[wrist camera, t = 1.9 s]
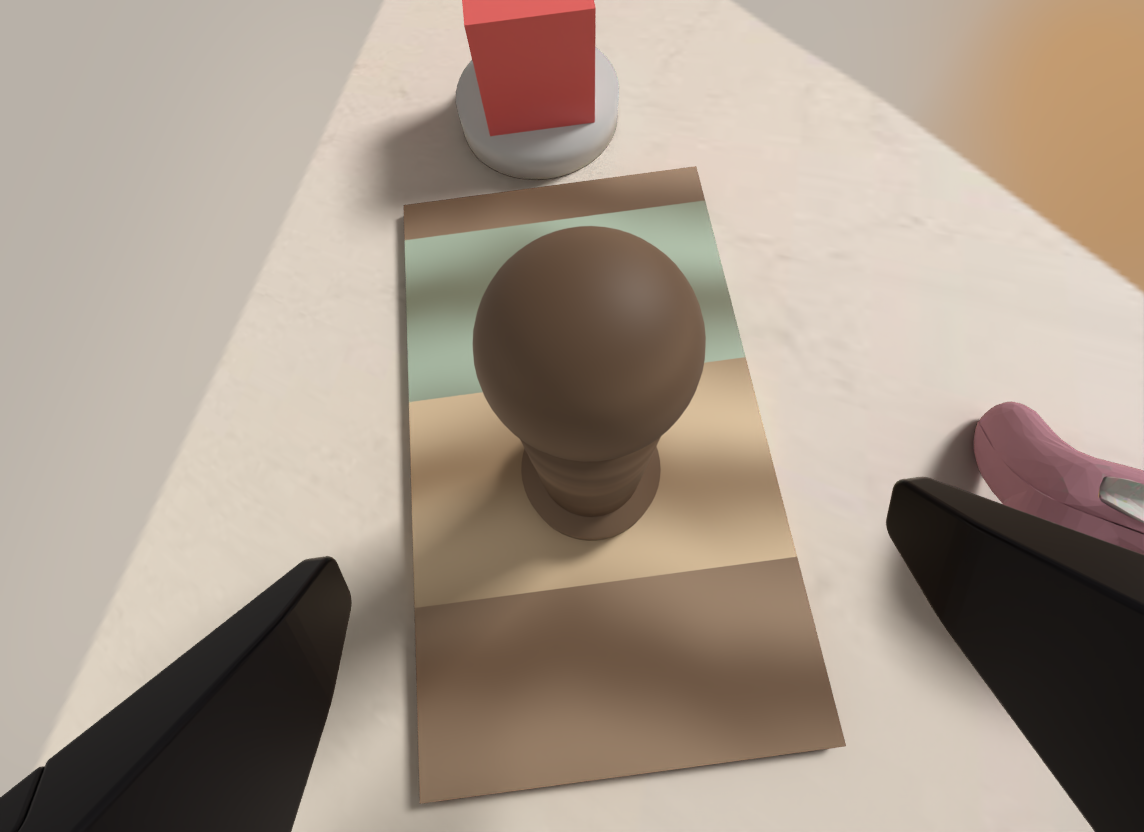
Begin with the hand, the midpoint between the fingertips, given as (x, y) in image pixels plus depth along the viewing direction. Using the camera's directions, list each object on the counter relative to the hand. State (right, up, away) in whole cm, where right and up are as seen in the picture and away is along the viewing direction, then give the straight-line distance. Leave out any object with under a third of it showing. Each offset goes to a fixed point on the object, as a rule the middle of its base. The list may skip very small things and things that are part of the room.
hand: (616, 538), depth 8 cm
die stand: (-2, +17, +18) cm, 25 cm away
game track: (0, +1, +13) cm, 13 cm away
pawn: (0, 0, +11) cm, 11 cm away
